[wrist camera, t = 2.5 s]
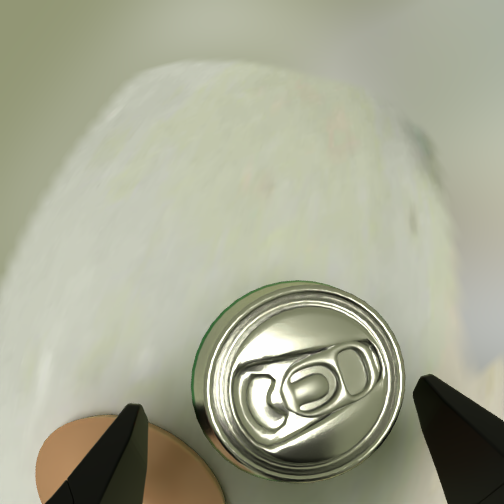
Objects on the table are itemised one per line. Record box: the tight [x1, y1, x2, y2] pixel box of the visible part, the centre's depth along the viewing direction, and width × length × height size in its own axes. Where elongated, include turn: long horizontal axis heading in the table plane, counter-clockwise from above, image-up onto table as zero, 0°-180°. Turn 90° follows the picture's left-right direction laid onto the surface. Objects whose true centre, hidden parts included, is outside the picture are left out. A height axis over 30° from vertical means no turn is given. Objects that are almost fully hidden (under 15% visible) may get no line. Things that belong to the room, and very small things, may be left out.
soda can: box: [191, 280, 405, 483], centre depth 11 cm, size 5×5×12 cm
